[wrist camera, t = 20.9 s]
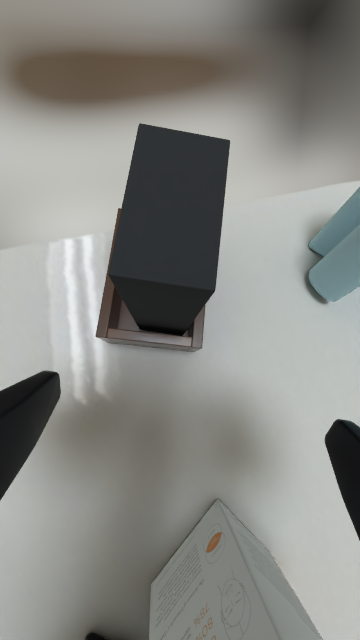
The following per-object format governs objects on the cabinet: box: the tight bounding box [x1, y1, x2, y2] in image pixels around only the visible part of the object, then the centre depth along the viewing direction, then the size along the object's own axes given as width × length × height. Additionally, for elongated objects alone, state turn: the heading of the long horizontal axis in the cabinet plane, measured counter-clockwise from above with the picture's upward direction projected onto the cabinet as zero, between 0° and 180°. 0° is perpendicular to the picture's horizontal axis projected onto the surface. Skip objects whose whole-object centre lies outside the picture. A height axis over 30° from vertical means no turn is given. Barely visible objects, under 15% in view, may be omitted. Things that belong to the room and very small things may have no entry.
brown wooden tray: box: [96, 208, 205, 352], centre depth 21 cm, size 8×11×4 cm
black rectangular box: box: [108, 124, 230, 336], centre depth 15 cm, size 4×7×13 cm, turn 173°
